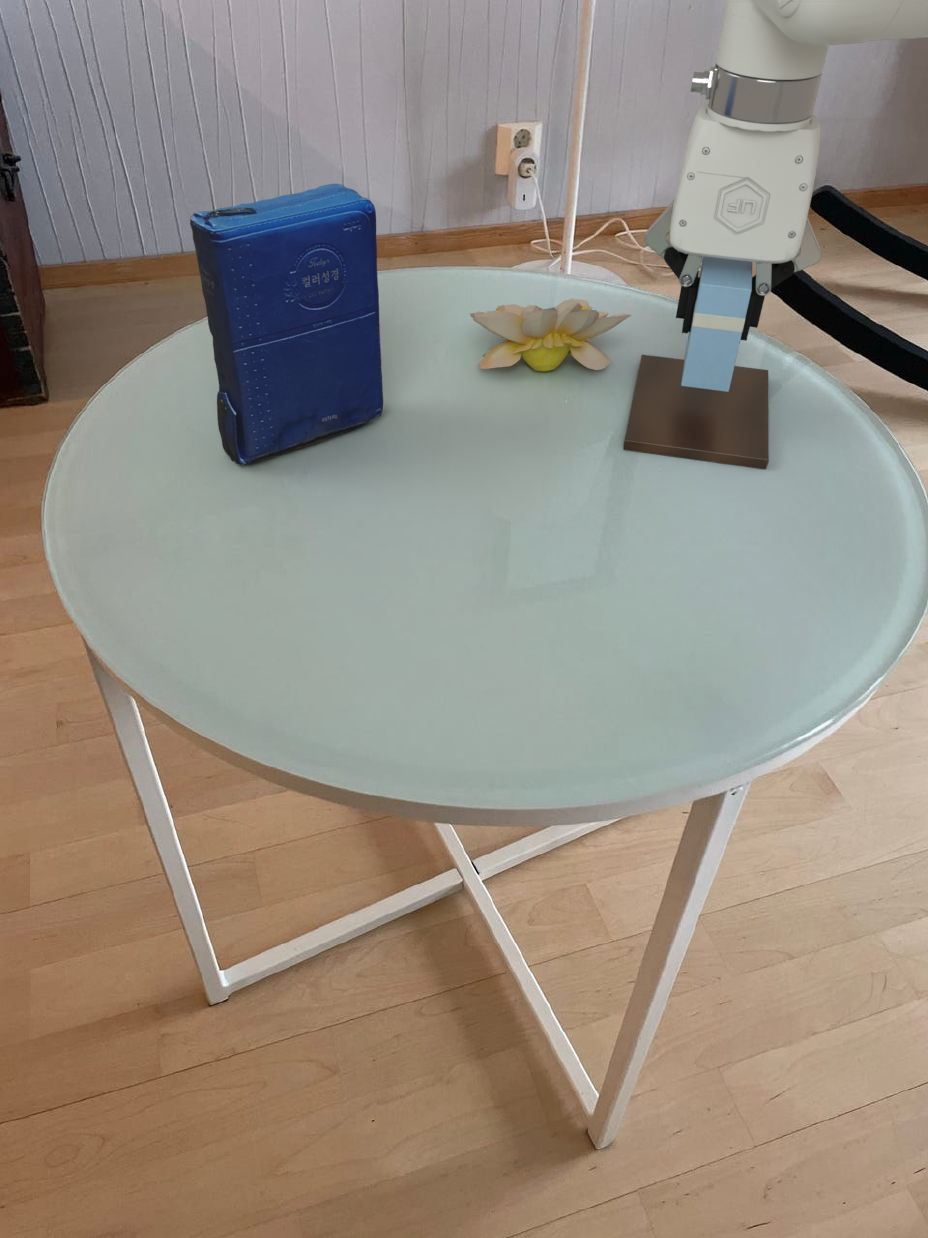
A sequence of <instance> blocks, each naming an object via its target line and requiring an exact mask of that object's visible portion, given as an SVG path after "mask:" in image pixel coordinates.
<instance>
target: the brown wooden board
mask: <svg viewBox="0 0 928 1238" xmlns="http://www.w3.org/2000/svg"><path fill="white" fill-rule="evenodd" d="M683 367H684V359H682V358H673V357H664V356H659V355H658V356H657V355H651V354H650V355H649V354H641V355H640V361H639V365H638V372H637V375H636V381H635V386H634V391H633V396H632V402H631V406H630V411H629V412H630V413H629V416H628V421H627V426H626V431H625V435H624V442H623V450H624V451H630V452H638V453H644V454H645V453H646V454H652V455H659V456H667V457H674V458H682V459H689V460H695V461H696V460H697V461H703V462H710V463H718V464H723V465H724V464H726V465H732V466H739V467H745V468H754V469H762V470H767V467H768V464H769V460H770V459H769V457H770V454H769V451H770V450H769V448H770V446H769V443H770V442H769V441H770V439H769V438H770V437H769V435H770V434H769V433H770V432H769V428H770V427H769V425H770V424H769V369H763V368H756V367H755V368H754V367H746V366H740V365H735V366H734V371H733V375H732V379H731V384H730V388H729V392H725V391H717V390H710V389H702V388H694V387H687V386H681V382H682V375H683Z"/></svg>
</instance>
